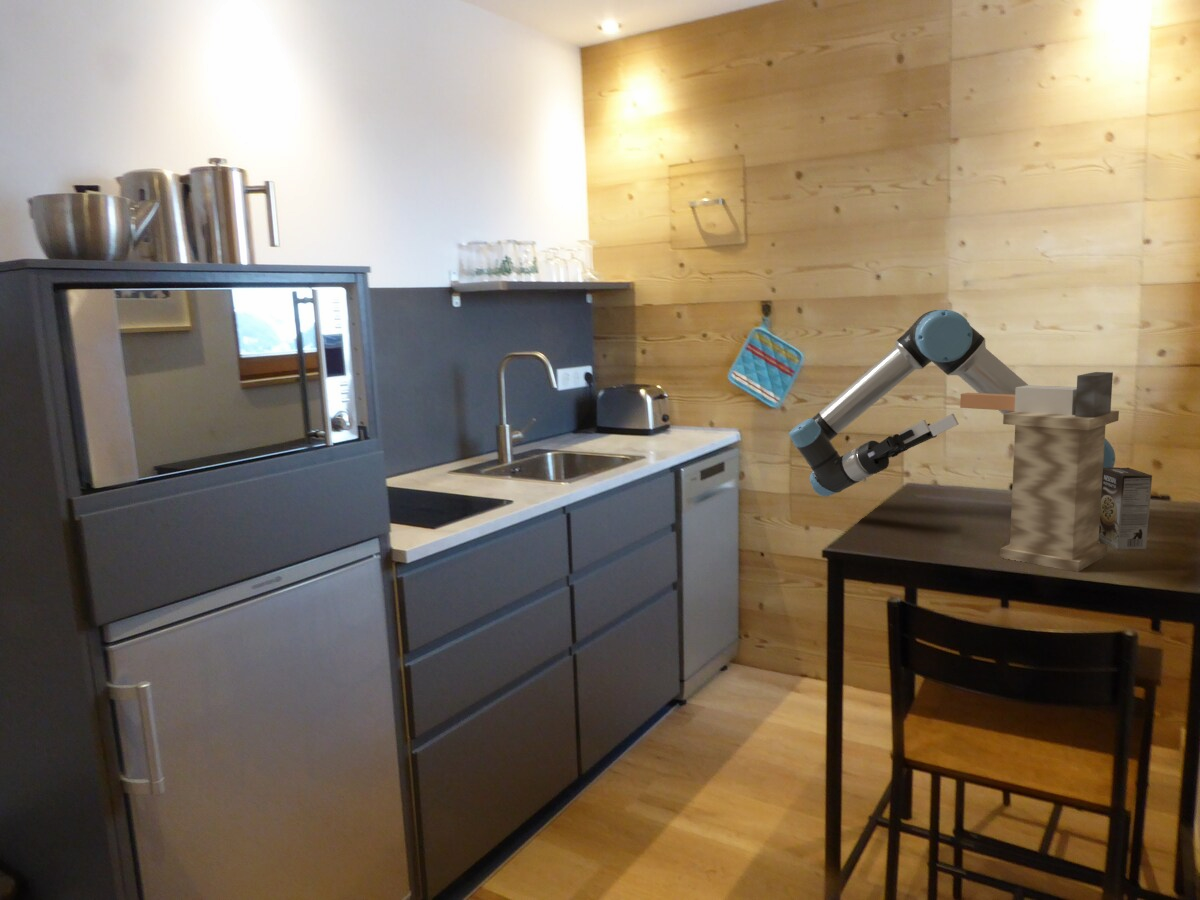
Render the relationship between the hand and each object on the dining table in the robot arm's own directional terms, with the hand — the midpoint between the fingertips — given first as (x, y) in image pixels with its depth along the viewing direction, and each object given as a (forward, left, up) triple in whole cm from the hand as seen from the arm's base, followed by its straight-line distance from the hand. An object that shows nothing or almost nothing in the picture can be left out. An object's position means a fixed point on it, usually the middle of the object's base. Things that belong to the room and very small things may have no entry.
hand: (941, 422), depth 195 cm
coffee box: (-36, +10, -27) cm, 45 cm away
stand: (-18, +18, -26) cm, 36 cm away
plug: (-12, +12, +4) cm, 17 cm away
